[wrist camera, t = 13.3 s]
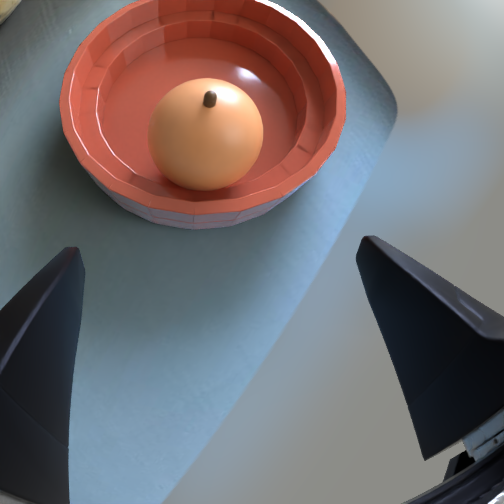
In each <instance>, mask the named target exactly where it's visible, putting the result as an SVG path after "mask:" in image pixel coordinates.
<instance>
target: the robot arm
mask: <svg viewBox="0 0 504 504" xmlns="http://www.w3.org/2000/svg"><path fill="white" fill-rule="evenodd" d="M356 262H357V265H358V269H359V272H360V275H361V279H362V282H363V285H364V288H365V291H366V295H367V298H368V301H369V303H370V306H371V308H372V310H373V313H374V316H375V318H376V320H377V323H378V326H379V328H380V331H381V333H382V336H383V338H384V341H385V343H386V346H387V349H388V352H389V354H390V357H391V360H392V362H393V365H394V368H395V371H396V374H397V376H398V379H399V382H400V385H401V388H402V391H403V394H404V397H405V400H406V403H407V405H408V409H409V412H410V416H411V419H412V422H413V425H414V428H415V432H416V435H417V438H418V442H419V445H420V449H421V452H422V455H423V458H424V460H425V461H426V460H427V459H429V458H432V457H434V456H436V455H438V454H439V453H441V452H443V451H445V450H447V449H448V448H451V447H452V446H454V445H456V444H458V443H459V442H461V441H463V444H464V446H465V448H466V450H465V451H464V452H462V453H461V454H459V455H457V456H455V457H454V458H452V459H450V461H449V465H448V468H447V471H446V474H445V477H444V480H443V482H442V483H441V484H439V485H437V486H435V487H433V488H431V489H430V490H428V491H426V492H424V493H422V494H420V495H418V496H416V497H414V498H412V499H410V500H408V501H406V502H404V503H402V504H504V317H503V316H502V315H500V314H498V313H496V312H495V311H494V310H492V309H490V308H489V307H487V306H485V305H484V304H482V303H481V302H479V301H477V300H476V299H474V298H472V297H471V296H470V295H468V294H467V293H465V292H464V291H462V290H460V289H459V288H458V287H456V286H454V285H453V284H452V283H450V282H448V281H447V280H445V279H444V278H442V277H441V276H439V275H438V274H436V273H435V272H433V271H431V270H430V269H429V268H427V267H425V266H424V265H422V264H420V263H419V262H417V261H416V260H414V259H413V258H411V257H409V256H408V255H406V254H404V253H403V252H401V251H400V250H398V249H396V248H395V247H393V246H391V245H389V244H388V243H386V242H385V241H383V240H381V239H380V238H378V237H376V236H364V237H363V238H362V240H361V243H360V246H359V249H358V252H357V254H356ZM84 282H85V268H84V264H83V261H82V257H81V254H80V250H79V248H77V247H66V248H64V249H63V250H62V251H61V252H60V253H59V254H57V255H56V256H55V257H54V258H53V259H52V260H51V261H50V262H49V263H48V264H47V265H46V266H44V267H43V268H42V269H41V270H40V271H39V272H38V273H37V274H36V275H35V276H34V277H33V278H32V279H31V280H30V281H29V282H28V283H27V284H26V285H25V286H24V287H23V288H22V289H21V290H20V291H19V292H18V293H17V294H16V295H15V296H14V297H13V298H12V299H11V300H10V301H9V302H8V303H7V304H6V305H5V306H4V307H3V308H2V309H1V310H0V504H70V500H69V472H68V452H69V449H68V445H69V420H70V405H71V393H72V383H73V373H74V365H75V357H76V350H77V343H78V337H79V331H80V325H81V317H82V305H83V292H84Z"/></svg>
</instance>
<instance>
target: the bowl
mask: <svg viewBox="0 0 504 504" xmlns="http://www.w3.org/2000/svg"><path fill="white" fill-rule="evenodd" d="M202 78H211V79H219V80H223V81H226V82H229V83H231V84H233V85H235V86H237V87H238V88H240V89H241V90H242V91H244V92H245V93H246V94H247V95H248V96H249V97H250V98H251V99H252V101H253V102H254V104H255V105H256V107H257V109H258V111H259V113H260V116H261V119H262V124H263V142H262V147H261V150H260V153H259V156H258V158H257V160H256V162H255V163H254V165H253V166H252V167H251V169H250V170H249V171H248V172H247V173H246V174H245V175H244V176H243V177H242V178H241V179H239V180H238V181H236V182H235V183H233V184H231V185H229V186H227V187H224V188H221V189H217V190H212V191H196V190H189V189H185V188H184V187H181V186H179V185H177V184H175V183H173V182H172V181H170V180H169V179H168V178H166V177H165V176H164V175H163V174H162V173H161V171H160V170H159V169H158V168H157V166H156V165H155V163H154V161H153V159H152V157H151V155H150V151H149V148H148V140H147V131H148V125H149V121H150V118H151V115H152V113H153V111H154V109H155V107H156V105H157V104H158V103H159V101H160V100H161V99H162V98H163V97H164V96H165V95H166V94H167V93H168V92H169V91H170V90H172V89H173V88H175V87H176V86H178V85H181V84H183V83H185V82H188V81H191V80H195V79H202ZM59 106H60V114H61V121H62V127H63V133H64V135H65V137H66V139H67V141H68V143H69V145H70V147H71V148H72V150H73V152H74V154H75V156H76V158H77V159H78V161H79V163H80V164H81V165H82V167H83V168H84V169H85V170H86V172H87V173H88V174H89V175H90V176H91V178H92V179H93V180H94V181H95V183H96V184H97V185H98V186H99V187H100V188H101V189H102V190H103V191H104V192H105V193H106V194H107V195H109V196H110V197H111V198H112V199H113V200H114V201H115V202H116V203H118V204H119V205H120V206H121V207H122V208H124V209H125V210H127V211H129V212H132V213H134V214H136V215H138V216H140V217H142V218H144V219H147V220H149V221H151V222H153V223H156V224H161V225H167V226H173V227H178V228H184V229H190V230H191V229H193V230H197V229H208V228H220V227H229V226H233V225H236V224H239V223H241V222H244V221H247V220H250V219H253V218H255V217H258V216H261V215H263V214H265V213H267V212H268V211H269V210H271V209H272V208H274V207H275V206H277V205H278V204H279V203H281V202H282V201H284V200H285V199H287V198H288V197H289V196H291V195H292V194H293V193H294V192H295V191H297V190H298V189H299V188H300V187H301V186H303V185H304V184H305V183H306V182H307V181H308V180H310V179H311V178H312V177H313V176H314V175H315V174H316V173H317V172H318V170H319V169H320V168H321V167H322V165H323V164H324V163H325V162H326V160H327V159H328V158H329V156H330V155H331V154H332V153H333V151H334V150H335V148H336V146H337V143H338V140H339V137H340V135H341V132H342V129H343V126H344V123H345V120H346V91H345V87H344V84H343V80H342V77H341V74H340V70H339V67H338V65H337V62H336V61H335V59H334V57H333V56H332V54H331V53H330V51H329V49H328V48H327V46H326V45H325V43H324V42H323V41H322V39H321V38H320V37H319V36H318V35H317V34H316V33H315V32H314V31H313V30H312V29H311V28H310V27H309V26H307V25H306V24H305V23H304V22H303V21H302V20H301V19H299V18H298V17H296V16H295V15H293V14H292V13H290V12H289V11H287V10H285V9H284V8H282V7H280V6H279V5H277V4H275V3H272V2H270V1H267V0H138V1H136V2H134V3H131V4H129V5H127V6H125V7H123V8H122V9H120V10H119V11H117V12H116V13H114V14H113V15H111V16H110V17H108V18H107V19H105V20H104V21H102V22H101V23H100V24H99V25H98V26H97V27H96V28H95V29H94V30H93V31H92V32H91V33H90V34H89V35H88V36H87V37H86V39H85V40H84V41H83V42H82V43H81V44H80V46H79V47H78V49H77V51H76V52H75V54H74V56H73V58H72V60H71V62H70V64H69V66H68V68H67V69H66V72H65V74H64V79H63V84H62V89H61V94H60V100H59Z"/></svg>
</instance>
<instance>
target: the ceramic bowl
mask: <svg viewBox="0 0 504 504" xmlns="http://www.w3.org/2000/svg"><path fill="white" fill-rule="evenodd" d="M20 2H21V0H0V25H1V24H2V23H3V22H4V21H5V20H6V19H7V18H8V17H9V16H10V15H11V14H12V12H13V11H14V10H15V8H16V7H17V6H18V5H19V3H20Z"/></svg>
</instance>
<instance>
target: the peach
mask: <svg viewBox="0 0 504 504" xmlns="http://www.w3.org/2000/svg"><path fill="white" fill-rule="evenodd" d="M147 140H148V148H149V151H150V155H151V157H152V159H153V161H154V163H155V165H156V166H157V168H158V169H159V170H160V171H161V173H162V174H163V175H164V176H165V177H166V178H168V179H169V180H170V181H172V182H173V183H175V184H177V185H179V186H181V187H184V188H185V189H189V190H196V191H212V190H217V189H221V188H224V187H227V186H229V185H231V184H233V183H235V182H236V181H238V180H239V179H241V178H242V177H243V176H244V175H245V174H246V173H247V172H248V171H249V170H250V169H251V167H252V166H253V165H254V163H255V162H256V160H257V158H258V156H259V153H260V150H261V147H262V142H263V124H262V119H261V116H260V113H259V111H258V109H257V107H256V105H255V104H254V102H253V101H252V99H251V98H250V97H249V96H248V95H247V94H246V93H245V92H244V91H242V90H241V89H240V88H238V87H237V86H235V85H233V84H231V83H229V82H226V81H223V80H219V79H211V78H202V79H195V80H191V81H188V82H185V83H183V84H181V85H178V86H176V87H175V88H173V89H172V90H170V91H169V92H168V93H167V94H166V95H165V96H164V97H163V98H162V99H161V100H160V101H159V103H158V104H157V105H156V107H155V109H154V111H153V113H152V115H151V118H150V121H149V125H148V131H147Z"/></svg>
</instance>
